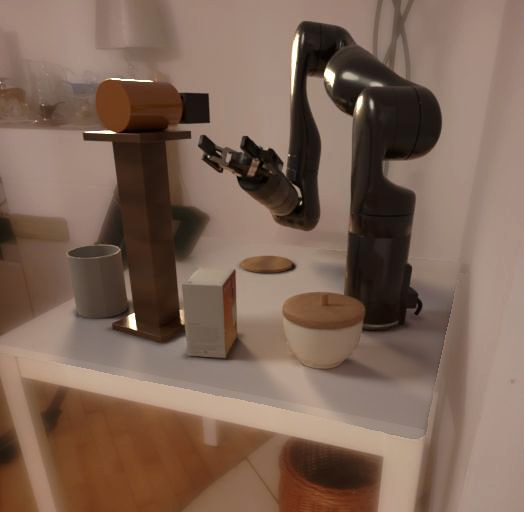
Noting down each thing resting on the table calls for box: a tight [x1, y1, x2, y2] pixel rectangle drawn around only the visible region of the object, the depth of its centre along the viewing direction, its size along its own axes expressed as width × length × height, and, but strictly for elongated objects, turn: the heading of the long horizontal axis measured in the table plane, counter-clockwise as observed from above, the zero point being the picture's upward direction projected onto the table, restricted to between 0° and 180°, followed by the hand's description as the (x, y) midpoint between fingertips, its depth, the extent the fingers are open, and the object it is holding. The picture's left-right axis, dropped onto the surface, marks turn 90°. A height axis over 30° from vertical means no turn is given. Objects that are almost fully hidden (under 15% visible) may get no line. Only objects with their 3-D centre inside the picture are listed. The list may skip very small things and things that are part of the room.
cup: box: [65, 244, 129, 319], centre depth 81 cm, size 8×8×10 cm
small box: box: [181, 266, 238, 359], centre depth 68 cm, size 8×6×10 cm
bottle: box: [94, 78, 184, 133], centre depth 67 cm, size 17×6×6 cm, turn 149°
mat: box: [241, 255, 293, 274], centre depth 106 cm, size 11×11×1 cm
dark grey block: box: [178, 92, 211, 125], centre depth 72 cm, size 6×4×4 cm
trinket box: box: [281, 291, 365, 370], centre depth 65 cm, size 11×11×9 cm
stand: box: [82, 129, 192, 344], centre depth 71 cm, size 10×10×28 cm
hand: (221, 140), depth 81 cm, fingers open, 8 cm apart
